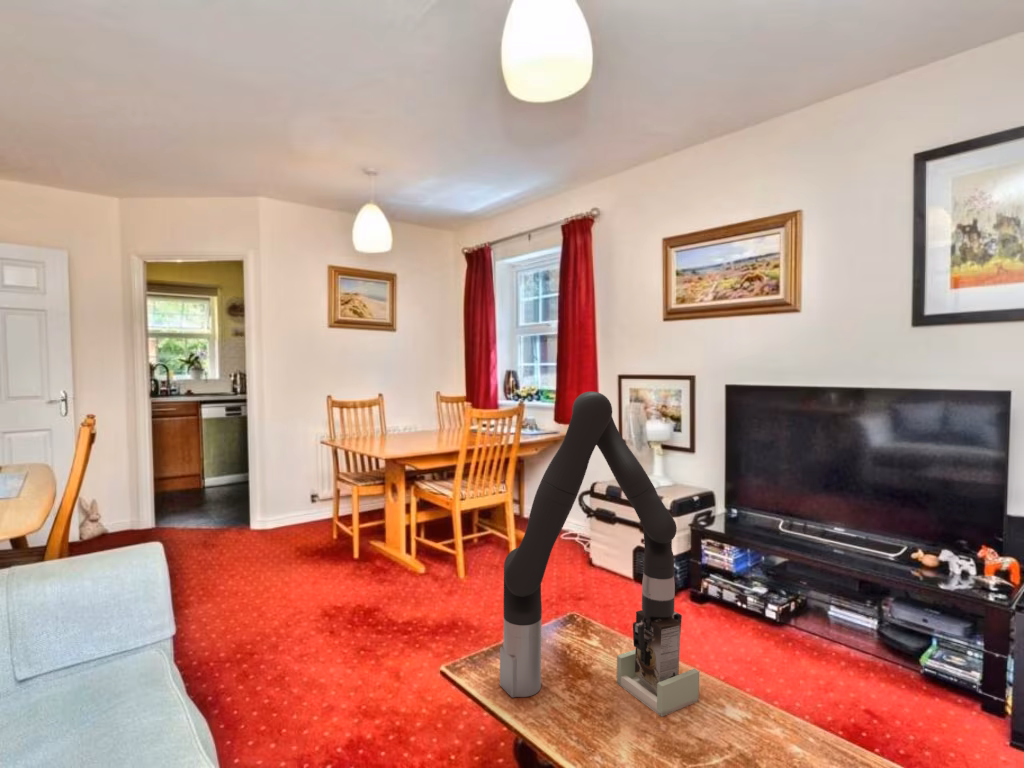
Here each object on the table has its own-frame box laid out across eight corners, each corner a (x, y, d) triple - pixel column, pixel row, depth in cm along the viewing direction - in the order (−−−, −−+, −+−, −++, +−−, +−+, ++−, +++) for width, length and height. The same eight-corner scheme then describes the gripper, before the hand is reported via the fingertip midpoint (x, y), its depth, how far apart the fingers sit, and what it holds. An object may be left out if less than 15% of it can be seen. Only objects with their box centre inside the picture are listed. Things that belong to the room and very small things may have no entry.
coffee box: (633, 675, 136) (634, 610, 135) (654, 669, 138) (655, 606, 138) (658, 695, 127) (659, 627, 127) (679, 689, 130) (681, 621, 130)
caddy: (661, 717, 124) (662, 686, 123) (616, 683, 136) (617, 655, 136) (698, 700, 130) (699, 671, 129) (652, 670, 143) (652, 643, 142)
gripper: (647, 604, 125) (645, 676, 126) (691, 592, 133) (690, 660, 133) (624, 592, 132) (623, 661, 132) (668, 581, 139) (666, 646, 140)
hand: (656, 660), depth 133 cm, fingers closed on coffee box, 6 cm apart
